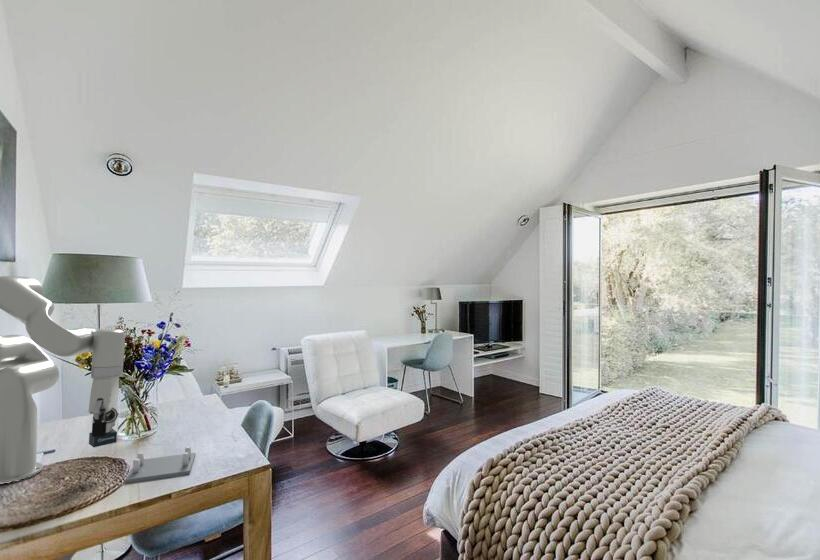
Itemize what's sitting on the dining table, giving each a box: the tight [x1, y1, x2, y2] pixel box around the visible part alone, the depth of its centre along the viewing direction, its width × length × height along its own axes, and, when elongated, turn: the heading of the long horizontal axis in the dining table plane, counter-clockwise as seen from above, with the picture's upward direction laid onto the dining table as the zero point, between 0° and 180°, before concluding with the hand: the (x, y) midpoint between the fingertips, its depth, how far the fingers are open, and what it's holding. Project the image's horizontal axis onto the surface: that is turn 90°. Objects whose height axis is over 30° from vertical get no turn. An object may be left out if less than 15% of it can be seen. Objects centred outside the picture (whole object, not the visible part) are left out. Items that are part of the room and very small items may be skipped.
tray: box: [124, 446, 196, 484], centre depth 123 cm, size 16×14×4 cm
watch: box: [88, 408, 120, 448], centre depth 121 cm, size 6×8×11 cm
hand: (103, 430), depth 121 cm, fingers closed on watch, 8 cm apart
